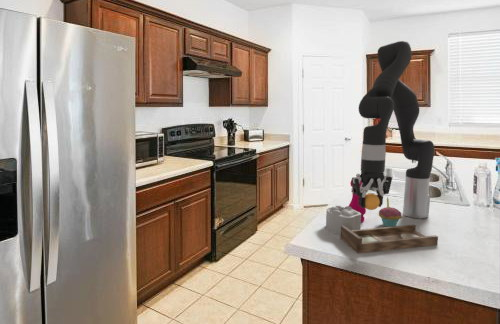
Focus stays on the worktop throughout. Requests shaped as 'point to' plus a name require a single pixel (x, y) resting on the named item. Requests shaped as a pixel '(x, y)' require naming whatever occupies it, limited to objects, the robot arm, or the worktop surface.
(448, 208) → the worktop surface
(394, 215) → the cupcake
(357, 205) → the pepper mill
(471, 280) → the worktop surface
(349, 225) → the lumpy-topped squat cylinder
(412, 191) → the robot arm
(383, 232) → the wooden tray
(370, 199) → the ball
